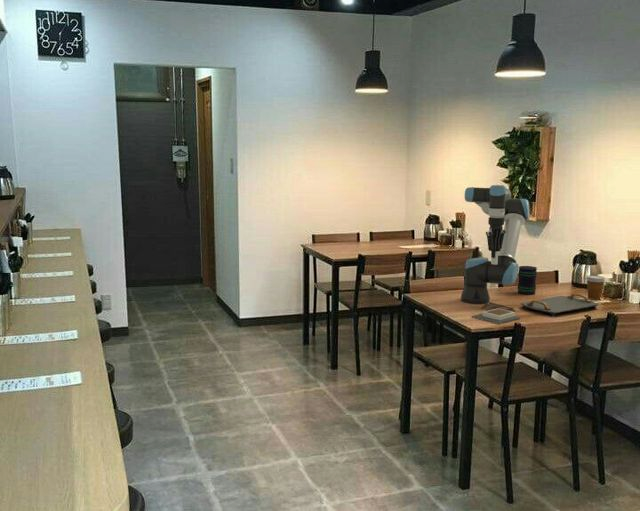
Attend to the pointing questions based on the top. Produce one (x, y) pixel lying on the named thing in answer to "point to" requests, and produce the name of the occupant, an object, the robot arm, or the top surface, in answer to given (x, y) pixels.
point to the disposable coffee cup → (595, 286)
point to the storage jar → (527, 280)
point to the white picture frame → (499, 314)
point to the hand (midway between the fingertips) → (494, 264)
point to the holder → (495, 306)
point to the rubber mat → (495, 319)
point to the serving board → (560, 304)
